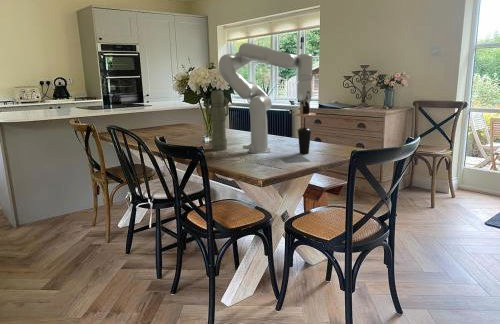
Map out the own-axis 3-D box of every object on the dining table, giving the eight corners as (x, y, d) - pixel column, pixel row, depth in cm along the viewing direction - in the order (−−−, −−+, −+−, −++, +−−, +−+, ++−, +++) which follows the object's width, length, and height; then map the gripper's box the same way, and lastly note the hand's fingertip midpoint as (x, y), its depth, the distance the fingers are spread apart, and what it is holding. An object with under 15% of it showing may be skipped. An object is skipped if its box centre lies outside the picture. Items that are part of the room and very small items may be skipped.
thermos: (230, 149, 224) (228, 90, 216) (210, 151, 222) (207, 90, 214) (228, 147, 233) (226, 89, 225) (209, 148, 230) (206, 90, 222)
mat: (286, 163, 186) (286, 163, 186) (278, 158, 199) (278, 157, 199) (311, 162, 189) (311, 161, 189) (302, 156, 201) (302, 156, 201)
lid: (297, 116, 196) (297, 105, 195) (290, 114, 208) (290, 103, 207) (319, 115, 199) (319, 104, 198) (311, 113, 210) (311, 103, 209)
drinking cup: (303, 152, 213) (303, 116, 209) (314, 153, 208) (314, 117, 203) (294, 154, 209) (294, 117, 204) (304, 156, 203) (305, 119, 198)
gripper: (293, 78, 206) (292, 111, 210) (303, 78, 190) (303, 114, 194) (306, 78, 208) (305, 111, 212) (317, 78, 192) (316, 114, 196)
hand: (304, 112), depth 203 cm, fingers closed on lid, 4 cm apart
